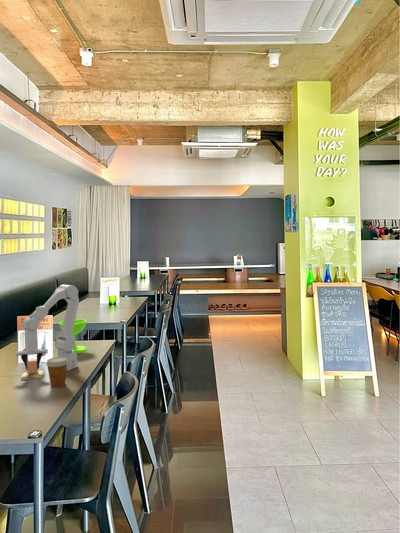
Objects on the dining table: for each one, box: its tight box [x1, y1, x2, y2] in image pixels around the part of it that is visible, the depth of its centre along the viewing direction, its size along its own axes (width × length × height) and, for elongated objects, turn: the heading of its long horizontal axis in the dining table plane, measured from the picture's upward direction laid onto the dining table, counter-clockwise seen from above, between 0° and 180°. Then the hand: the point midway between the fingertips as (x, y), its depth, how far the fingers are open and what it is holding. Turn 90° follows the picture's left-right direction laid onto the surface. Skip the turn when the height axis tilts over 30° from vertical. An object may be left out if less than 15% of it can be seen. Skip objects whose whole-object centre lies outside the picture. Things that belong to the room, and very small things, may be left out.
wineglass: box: [58, 318, 88, 354], centre depth 248 cm, size 16×16×18 cm
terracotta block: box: [26, 358, 39, 374], centre depth 201 cm, size 4×4×6 cm
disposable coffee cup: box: [45, 356, 68, 388], centre depth 188 cm, size 10×10×12 cm
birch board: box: [20, 370, 45, 381], centre depth 201 cm, size 10×7×2 cm
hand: (32, 368), depth 201 cm, fingers closed on terracotta block, 4 cm apart
